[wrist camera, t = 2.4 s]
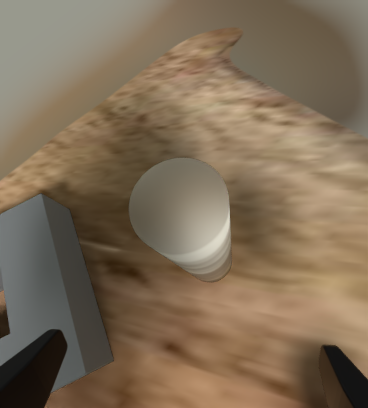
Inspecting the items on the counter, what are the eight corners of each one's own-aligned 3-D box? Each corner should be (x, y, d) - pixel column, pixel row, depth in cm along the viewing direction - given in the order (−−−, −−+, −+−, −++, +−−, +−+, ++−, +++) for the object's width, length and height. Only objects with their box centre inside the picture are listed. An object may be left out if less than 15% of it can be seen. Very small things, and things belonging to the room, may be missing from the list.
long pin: (240, 269, 20) (249, 221, 8) (199, 290, 20) (150, 272, 8) (218, 230, 22) (200, 142, 10) (180, 249, 22) (115, 185, 10)
